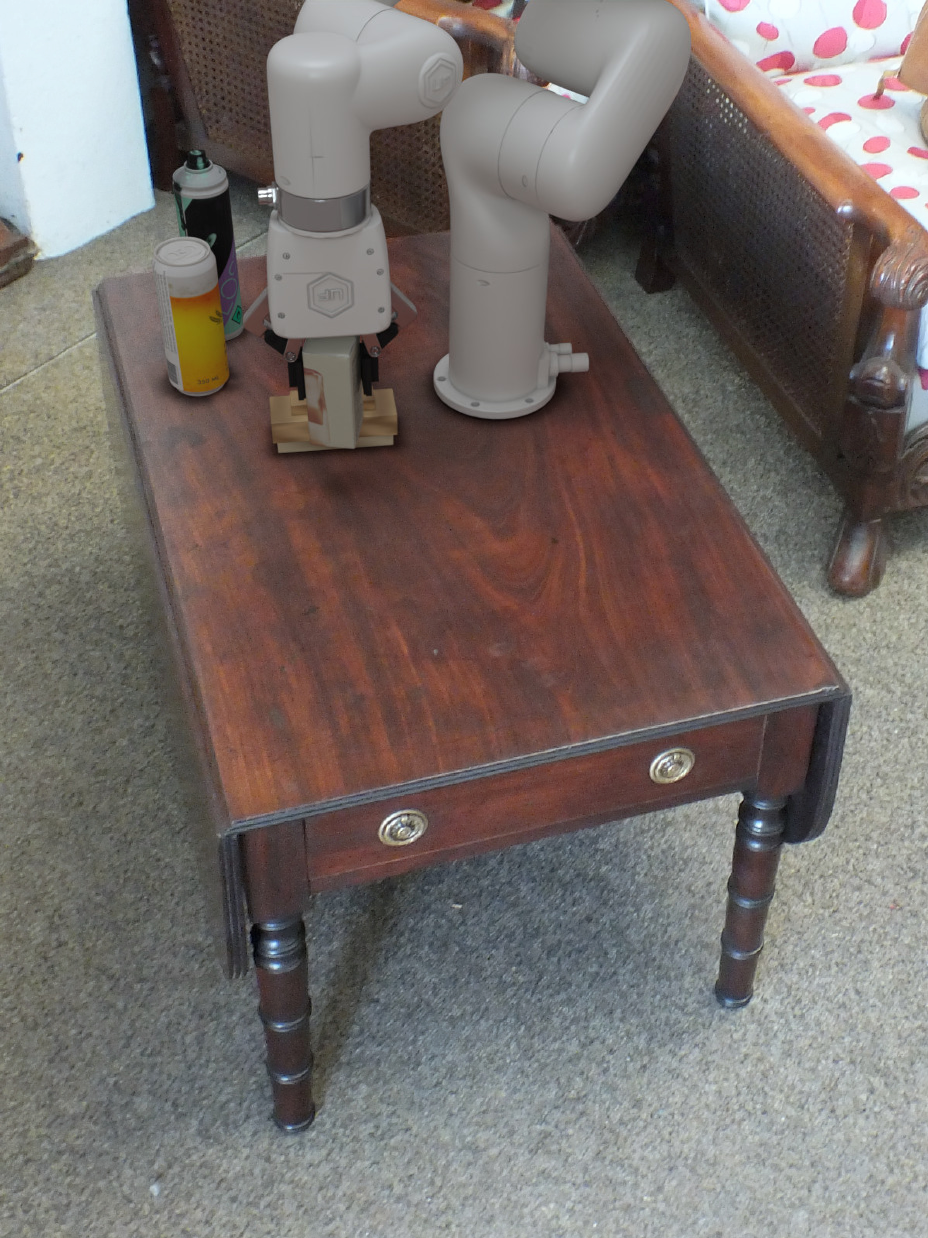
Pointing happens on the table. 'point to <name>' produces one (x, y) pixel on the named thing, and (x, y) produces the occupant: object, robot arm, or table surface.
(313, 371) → the white box
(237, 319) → the spray can
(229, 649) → the table surface
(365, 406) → the tan rectangular block
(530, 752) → the table surface
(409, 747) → the table surface
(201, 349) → the beer can
